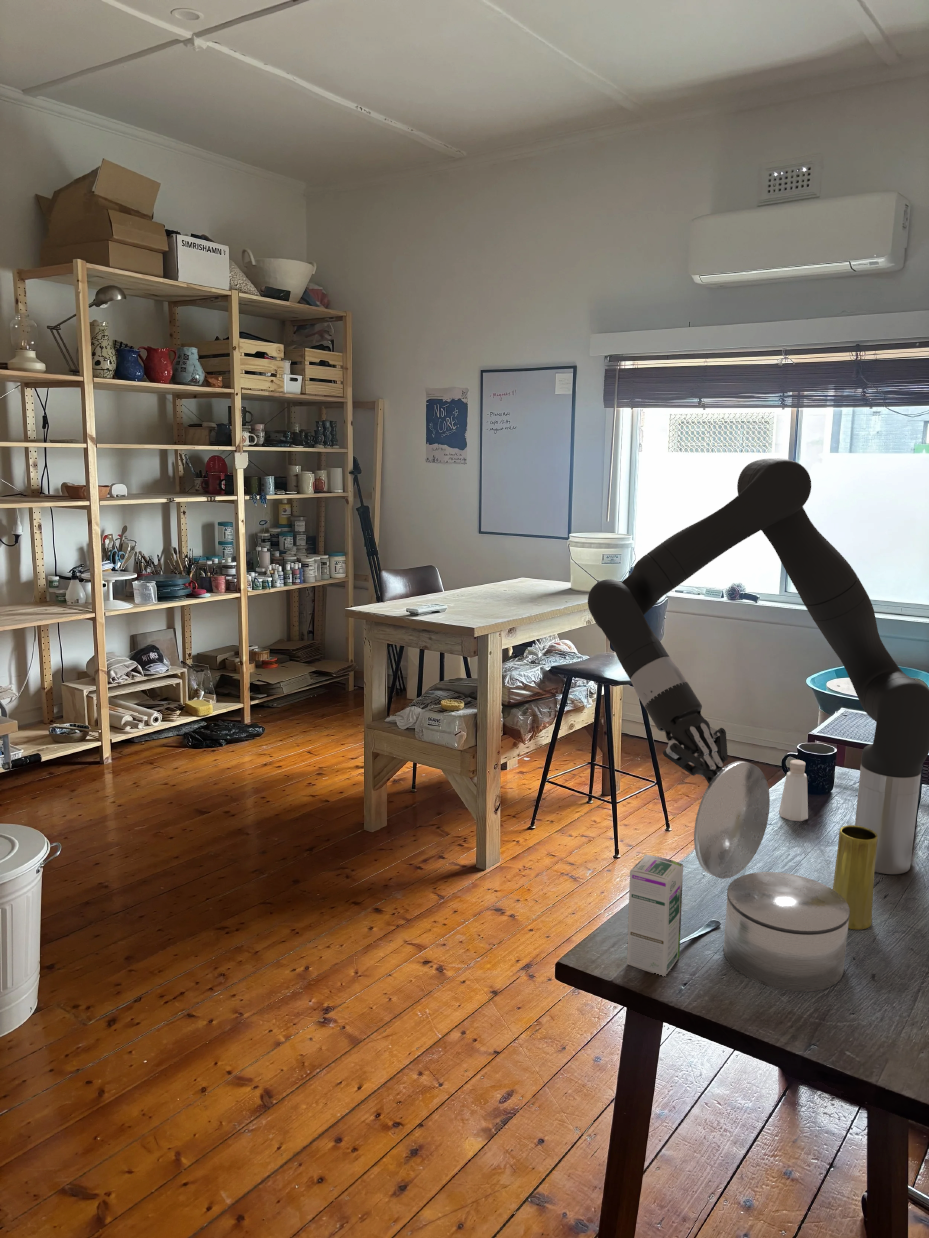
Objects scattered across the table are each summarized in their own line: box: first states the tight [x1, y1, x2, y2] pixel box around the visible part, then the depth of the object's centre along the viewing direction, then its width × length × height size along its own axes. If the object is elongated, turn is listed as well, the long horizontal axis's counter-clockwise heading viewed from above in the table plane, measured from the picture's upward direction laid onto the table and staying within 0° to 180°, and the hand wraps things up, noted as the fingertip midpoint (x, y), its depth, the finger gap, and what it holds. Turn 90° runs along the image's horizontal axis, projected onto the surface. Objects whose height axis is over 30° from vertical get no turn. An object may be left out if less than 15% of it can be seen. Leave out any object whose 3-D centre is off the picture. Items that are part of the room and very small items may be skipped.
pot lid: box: [693, 760, 771, 880], centre depth 132 cm, size 17×17×3 cm
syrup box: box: [626, 854, 684, 977], centre depth 125 cm, size 6×6×14 cm
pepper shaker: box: [778, 759, 809, 822], centre depth 174 cm, size 5×5×11 cm
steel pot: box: [723, 871, 850, 993], centre depth 127 cm, size 16×16×9 cm
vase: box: [832, 824, 878, 931], centre depth 137 cm, size 6×6×14 cm
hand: (727, 794), depth 132 cm, fingers closed
